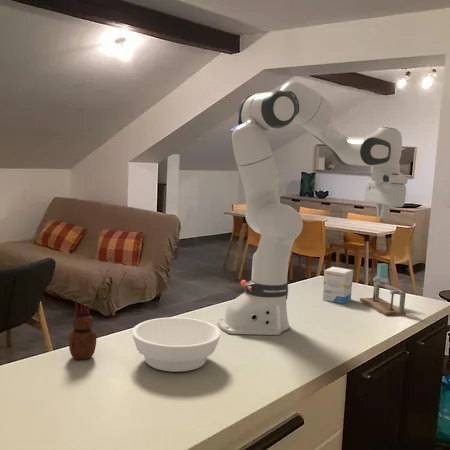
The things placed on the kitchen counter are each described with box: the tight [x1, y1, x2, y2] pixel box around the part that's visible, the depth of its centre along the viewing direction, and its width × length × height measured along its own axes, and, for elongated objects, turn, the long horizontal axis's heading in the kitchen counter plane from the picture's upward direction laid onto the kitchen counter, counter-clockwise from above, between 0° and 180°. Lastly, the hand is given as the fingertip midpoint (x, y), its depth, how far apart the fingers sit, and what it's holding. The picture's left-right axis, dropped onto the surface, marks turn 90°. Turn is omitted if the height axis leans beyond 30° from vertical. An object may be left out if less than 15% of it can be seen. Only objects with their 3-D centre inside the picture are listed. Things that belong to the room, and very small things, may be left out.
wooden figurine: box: [68, 301, 97, 361], centre depth 137 cm, size 7×6×15 cm
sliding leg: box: [372, 262, 389, 299], centre depth 201 cm, size 5×3×13 cm, turn 105°
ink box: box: [322, 266, 354, 305], centre depth 204 cm, size 9×8×12 cm
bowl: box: [131, 316, 222, 373], centre depth 137 cm, size 22×22×8 cm
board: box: [359, 281, 407, 317], centre depth 196 cm, size 8×18×8 cm, turn 15°
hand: (381, 217), depth 184 cm, fingers closed
